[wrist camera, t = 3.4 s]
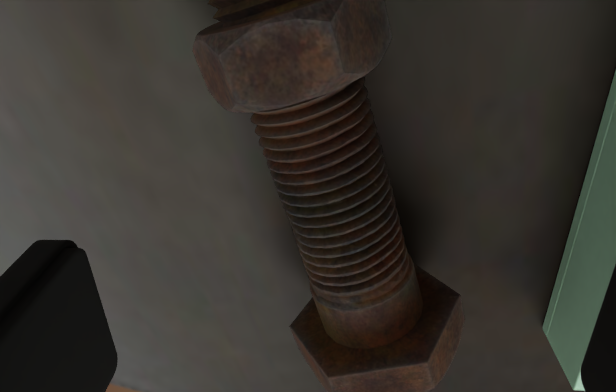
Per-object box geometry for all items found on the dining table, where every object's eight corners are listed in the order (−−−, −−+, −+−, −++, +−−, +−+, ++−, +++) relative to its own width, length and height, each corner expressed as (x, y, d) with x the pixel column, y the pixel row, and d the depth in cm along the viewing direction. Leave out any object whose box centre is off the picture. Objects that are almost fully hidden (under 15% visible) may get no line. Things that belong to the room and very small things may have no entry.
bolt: (279, -150, 14) (392, 273, 20) (102, -103, 12) (286, 335, 19) (403, -254, 9) (500, 354, 15) (127, -194, 7) (366, 447, 14)
